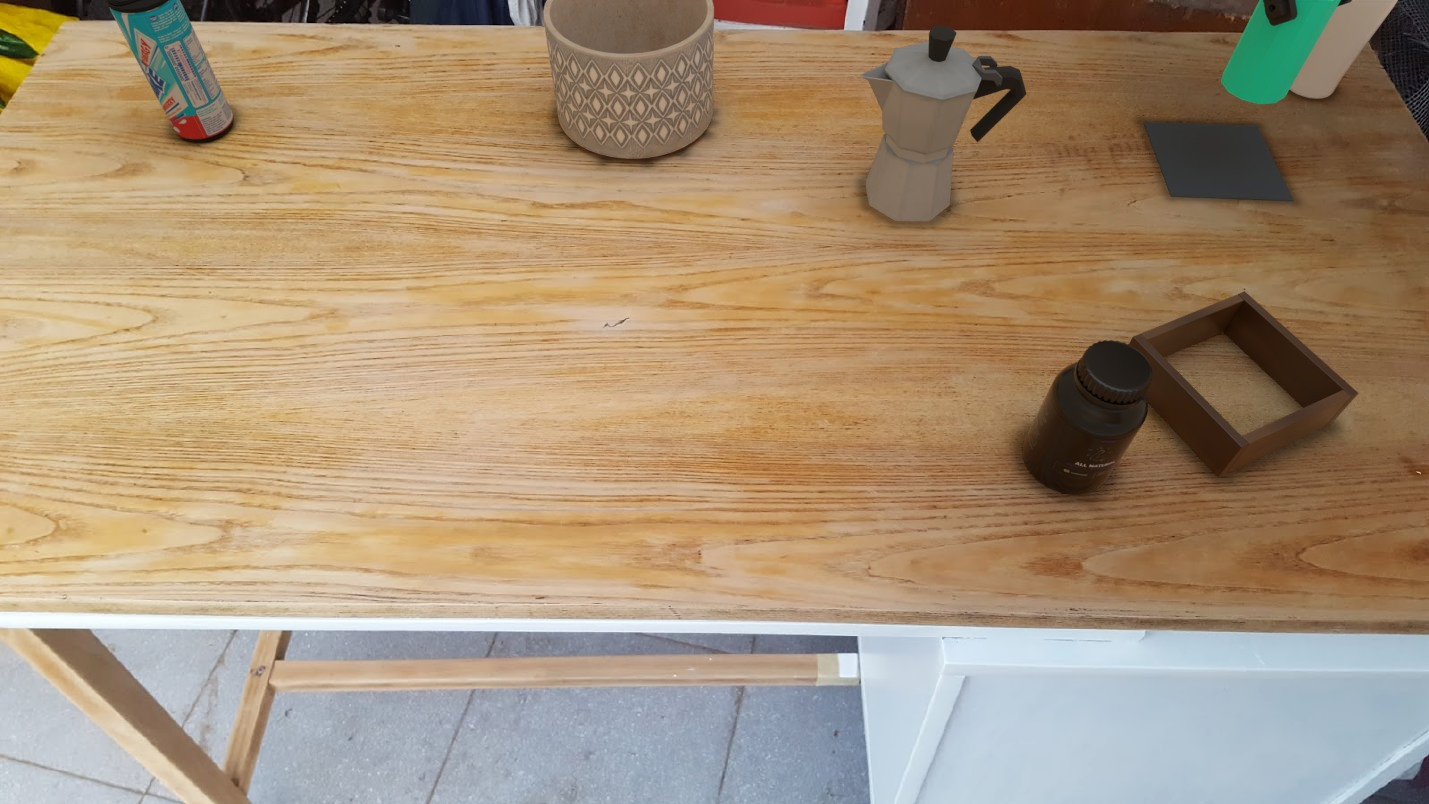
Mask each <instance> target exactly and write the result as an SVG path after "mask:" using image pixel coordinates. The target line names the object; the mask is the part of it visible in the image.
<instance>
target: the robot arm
mask: <svg viewBox="0 0 1429 804" xmlns="http://www.w3.org/2000/svg"><path fill="white" fill-rule="evenodd" d="M1351 1H1352V0H1341V1H1340V3H1339V4H1338V6H1341V5H1344V4H1347V3H1350V2H1351ZM1263 3H1264V8H1265V13H1266V16H1267V18H1268V20H1269V23H1270V24H1271V25H1272V26H1275V25H1279V24H1282V23H1285V22H1288V21H1291V20H1294V19H1295V18H1296V17H1297V7H1296V2H1295V0H1263ZM1338 6H1337V7H1338Z"/></svg>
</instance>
